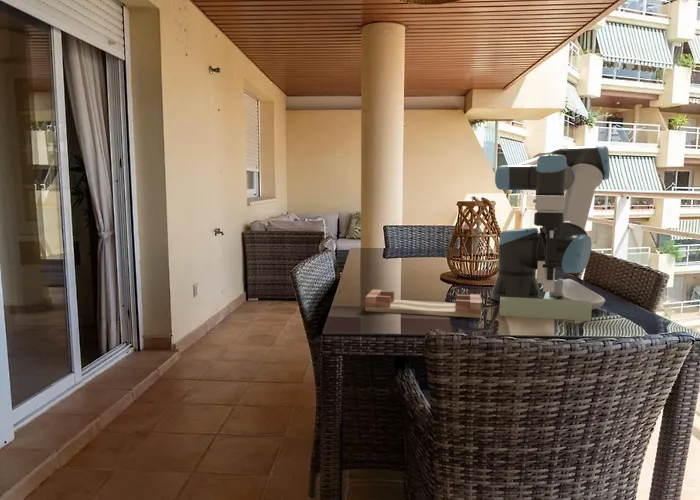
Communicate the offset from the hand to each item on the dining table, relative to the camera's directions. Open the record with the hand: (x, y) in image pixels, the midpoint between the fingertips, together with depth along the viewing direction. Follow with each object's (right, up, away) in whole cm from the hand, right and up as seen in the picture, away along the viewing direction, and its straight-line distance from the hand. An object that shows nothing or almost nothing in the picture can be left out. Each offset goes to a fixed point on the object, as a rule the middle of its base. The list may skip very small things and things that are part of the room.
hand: (544, 287), depth 144 cm
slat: (0, -9, +1) cm, 9 cm away
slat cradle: (-33, -7, +9) cm, 35 cm away
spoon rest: (+16, -7, +18) cm, 24 cm away
